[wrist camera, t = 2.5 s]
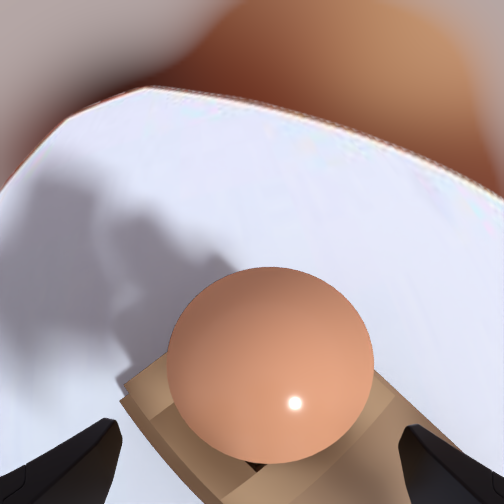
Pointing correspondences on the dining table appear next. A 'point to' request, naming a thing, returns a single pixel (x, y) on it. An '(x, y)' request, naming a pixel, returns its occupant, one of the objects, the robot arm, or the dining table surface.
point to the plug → (270, 365)
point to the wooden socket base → (282, 474)
